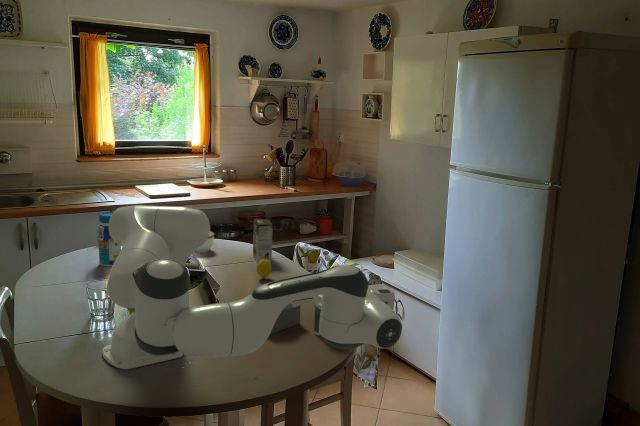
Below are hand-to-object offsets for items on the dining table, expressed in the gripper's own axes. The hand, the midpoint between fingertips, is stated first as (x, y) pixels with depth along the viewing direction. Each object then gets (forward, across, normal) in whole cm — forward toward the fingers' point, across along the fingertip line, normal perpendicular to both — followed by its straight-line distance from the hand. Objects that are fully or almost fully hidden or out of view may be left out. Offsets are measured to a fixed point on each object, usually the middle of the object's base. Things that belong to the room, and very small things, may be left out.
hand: (342, 286), depth 149 cm
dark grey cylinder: (+12, -1, -19) cm, 23 cm away
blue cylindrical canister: (+90, -62, -20) cm, 111 cm away
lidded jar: (+100, -26, -20) cm, 105 cm away
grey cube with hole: (+22, -13, -19) cm, 32 cm away
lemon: (+61, -7, -20) cm, 65 cm away
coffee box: (+84, -3, -20) cm, 87 cm away
